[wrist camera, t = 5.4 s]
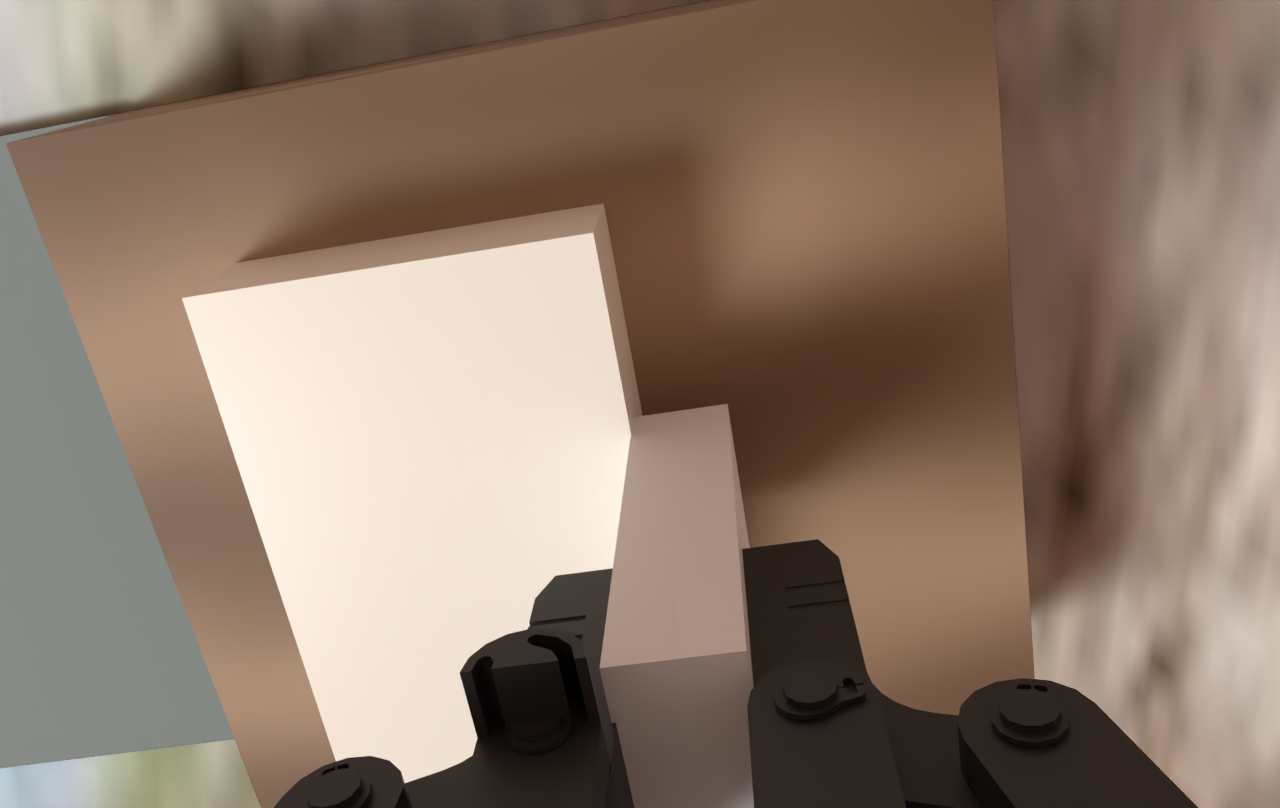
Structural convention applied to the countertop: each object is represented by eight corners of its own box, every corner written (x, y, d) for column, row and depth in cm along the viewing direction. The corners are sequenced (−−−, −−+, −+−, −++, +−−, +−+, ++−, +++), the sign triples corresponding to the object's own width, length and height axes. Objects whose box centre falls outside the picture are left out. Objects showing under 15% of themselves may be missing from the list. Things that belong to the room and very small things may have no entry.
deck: (986, 634, 24) (1039, 756, 20) (334, 716, 26) (274, 843, 22) (932, -43, 19) (990, -45, 15) (128, 111, 21) (6, 143, 17)
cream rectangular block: (691, 684, 20) (691, 758, 18) (377, 721, 21) (347, 795, 19) (603, 203, 17) (592, 232, 15) (235, 263, 18) (181, 298, 16)
